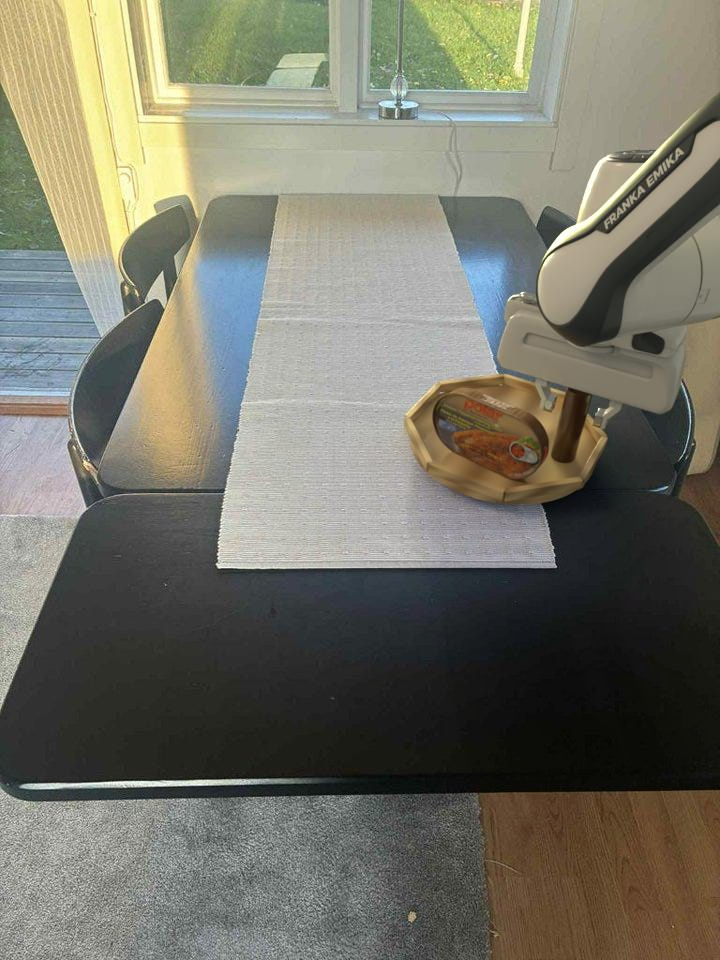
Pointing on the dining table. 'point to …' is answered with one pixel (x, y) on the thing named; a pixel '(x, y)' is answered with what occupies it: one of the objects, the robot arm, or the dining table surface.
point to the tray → (552, 480)
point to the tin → (491, 433)
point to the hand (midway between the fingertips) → (573, 417)
